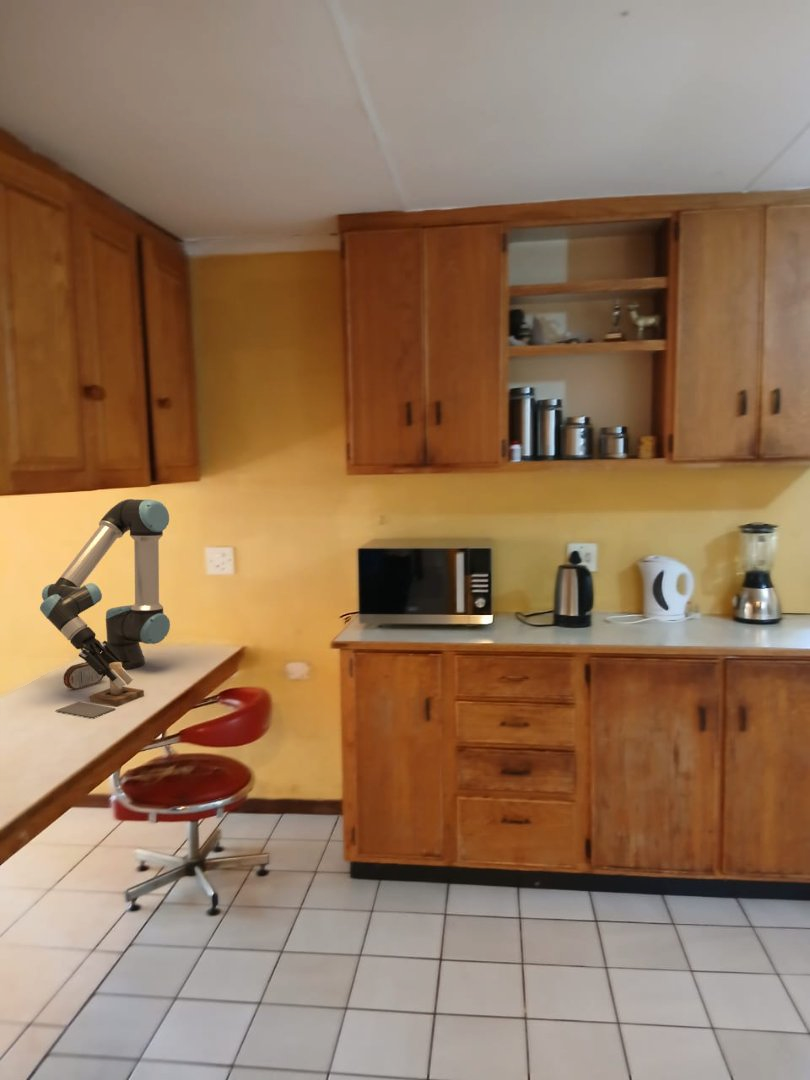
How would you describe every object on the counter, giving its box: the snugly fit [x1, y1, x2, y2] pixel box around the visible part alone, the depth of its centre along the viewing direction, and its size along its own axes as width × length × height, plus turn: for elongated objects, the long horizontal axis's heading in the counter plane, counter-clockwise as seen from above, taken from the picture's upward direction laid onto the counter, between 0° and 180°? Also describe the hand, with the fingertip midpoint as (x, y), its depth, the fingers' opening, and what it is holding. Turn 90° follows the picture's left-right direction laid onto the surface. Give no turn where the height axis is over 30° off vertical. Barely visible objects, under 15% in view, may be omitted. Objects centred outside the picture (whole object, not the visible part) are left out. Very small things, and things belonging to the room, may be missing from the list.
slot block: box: [88, 686, 145, 708], centre depth 244 cm, size 12×12×2 cm
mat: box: [55, 701, 116, 719], centre depth 232 cm, size 9×16×1 cm, turn 66°
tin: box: [63, 661, 104, 690], centre depth 258 cm, size 15×3×8 cm, turn 149°
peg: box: [109, 662, 124, 696], centre depth 243 cm, size 4×4×12 cm
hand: (126, 684), depth 243 cm, fingers closed on peg, 4 cm apart
